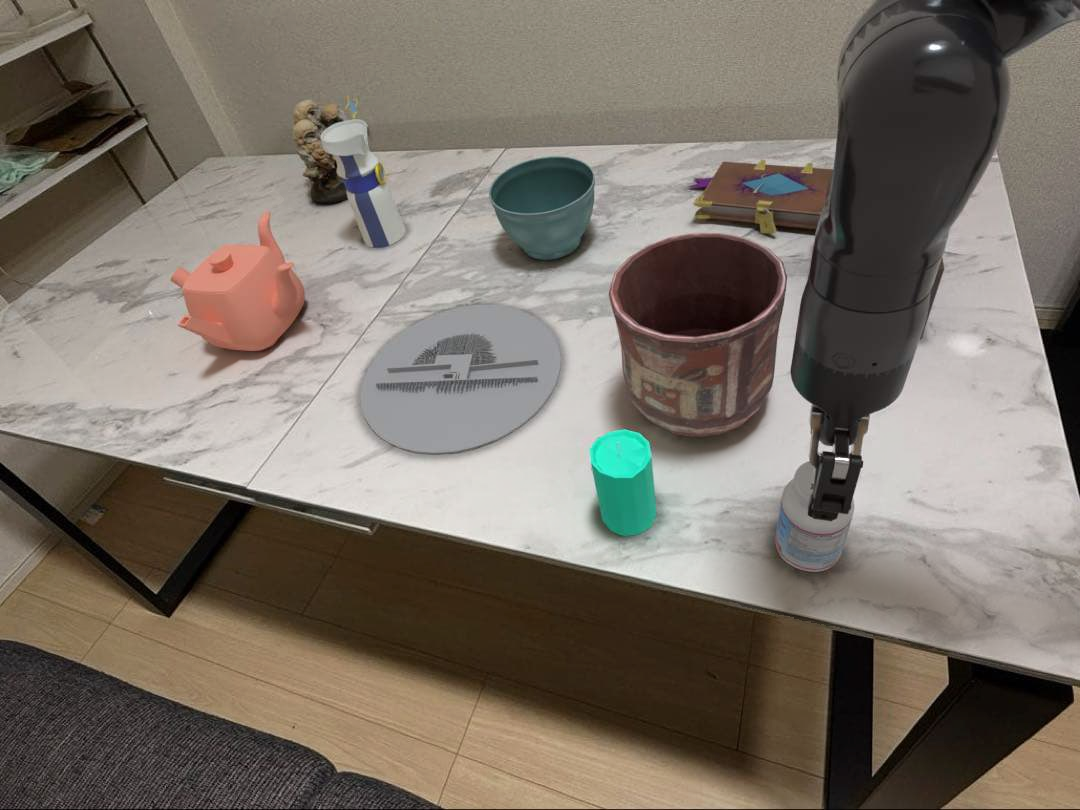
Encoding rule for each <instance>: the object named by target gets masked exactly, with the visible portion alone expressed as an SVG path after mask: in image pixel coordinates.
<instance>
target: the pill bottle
mask: <svg viewBox="0 0 1080 810" xmlns="http://www.w3.org/2000/svg"><path fill="white" fill-rule="evenodd" d="M813 473H814V467H813V466H812V465H811V464H810V462H809V460H808V461H806V462H804V463H802V464H800V466H798V468H797V469H796V470H795V473H794V475H793V478H792V479H790V481H788V483H787V484H786V485H785V486H784V489H783V491H782V495H781V498H780V499H781V500H780V506H779V513H778V518H777V524H776V531H775V537H774V538H775V541H774V542H775V547H776V550H777V552H778V554H779V556H780V558H781V559H782V560H783V561H785V563H787V564H788V565H790V566H791V567H794V568H795V569H798V570H801V571H805V572H812V573H817V572H819V573H820V572H824V571H827V570H829V569H831V568H832V567H833V566H835V565H836V564H837V562H839V560H840V558H841V556H842V554H843V549H844V546H845V543H846V540H847V538H848V533H849V529H850V526H851V523H852V520H853V516H854V513H855V500H854V498H853V499H852V502H851V510H849V513H848V514H841V513H838V517H837V519H835V520H833V521H824V520H817V519H813V518H812V517H810V516H808V504H809V500H810V495H811V491H812V490H810V484H811V483H812V481H813Z"/></svg>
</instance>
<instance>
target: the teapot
mask: <svg viewBox="0 0 1080 810" xmlns="http://www.w3.org/2000/svg"><path fill="white" fill-rule="evenodd" d="M270 220H271V211H270V210H267V211H265V212H263V214H262V215H261V216H260V217H259V219H258V223H257V233H258V234H257V235H258V239H259V245H258V244H247V243H246V244H244V243H243V244H241V243H239V244H238V243H233V244H232V243H231V244H224V245H223V246H221V247H219V248H217V249H216V250H214V251H213V252H212V253H210V255H209V256H207V257H206V258H205V259H204V260H203V261H201V263H199V264H198V266H196V268H195V269H194V270H193V271H192V272H190V271H188V270H186V269H185V268H183V267H182V266H181V267H178V269H176V270H175V272H173V274H172V275H171V277H170V282H172V283H173V284H175V285H177V286H178V287H179V288H181V289H182V295H183V299H184V303H185V307H186V309H187V312H188V315H187V314H184V315H183V316H182V318H181V319H180V321H179V322H178V323H177V326H178V327H180V328H182V329H184V330H185V331H188V332H191V333H192V334H194V335H197V336H200V337H201V339H203V340H204V341H205V342H207V343H209V344H211V345H213V346H214V347H217V348H221V349H226V350H234V351H247V352H259V351H263V350H266V349H269V348H271V347H273V346H275V344H276V343H277V342H278V339H279V338H280V337H281V336H282V335H283V334H284V333H286V331H287V330H288V329H289V328H290V326H292V324H293V323H294V322H295V320H296V319H297V317H298V315H299V314H300V312H301V310H302V308H303V307H304V304H305V298H306V292H305V287H304V285H303V283H302V281H301V279H300V278H299V276H298V275H297V273H296V272H295V271H294V270H293V267H294V266H295V262H286V260H285V256H284V254H283V252H282V250H281V248H280V246H279V244H278V242H277V241H276V240H275V237H274V235H273V232H272V230H271V224H270V223H271V221H270Z"/></svg>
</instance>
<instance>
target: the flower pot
mask: <svg viewBox="0 0 1080 810" xmlns="http://www.w3.org/2000/svg"><path fill="white" fill-rule="evenodd" d="M595 186H596V177H595V172H594V169H593V168H592V167H591V166H590V165H589V164H588V163H587V162H585V161H583V160H581V159H578V158H574V157H569V156H563V155H558V156H557V155H551V156H542V157H537V158H532V159H528V160H525V161H522V162H518V163H517V164H514V165H513V166H511V167H509V168H506V169H505V170H504V171H503V172H501V173H500V174H499V175H498V176H497V177H495V179H494V180H493V181H492V183H491V185H490V186H489V189H488V197H489V201H490V204H491V206H492V207H493V209H494V213H495V215H496V217H497V220H498V222H499V224H500V226H501V228H502V229H503V231H504V232H505V233H506V234H507V236H508V237H509V238H510V239H511V240H512V241H513V242H514V243H515V244H517V246H520V247H521V248H522V249H523V251H524V253H525V254H526V255H527V256H529V257H530V258H533V259H536V260H542V261H549V260H556V259H560V258H564V257H565V256H568V255H570V254H572V253H573V252H575V250H576V249H577V248H578V247H579V246H580V244H581V242H582V241H581V240H582V236H583V234H584V233H585V231H586V230H587V228H588V227H589V224H590V221H591V218H592V216H593V215H592V214H593V210H594V205H595Z"/></svg>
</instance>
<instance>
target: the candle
mask: <svg viewBox="0 0 1080 810" xmlns="http://www.w3.org/2000/svg"><path fill="white" fill-rule="evenodd" d="M589 457H590V458H589V459H590V465H591V466H590V467H591V470H592V475H593V480H594V485H595V491H596V495H597V500H598V506H599V510H600V515H601V521H602V523H604V525H605V526H606V527H607V528H608V529H609V531H610V532H612V533H615V534H618V535H620V536H623V537H628V536H637V535H640V534H642V533H643V532H645V531H647V530H648V529H650V528H651V527H652V526H653V524H654V521H655V519H656V518H657V515H658V514H657V502H656V491H655V479H654V469H653V458H652V451H651V445H650V441H649V440H648V439H646V438H645V437H644V436H643V435H642V434H641V433H640V432H636V431H633V430H629V429H624V428H623V429H619V430H614V431H609V432H607V433H605V434H603V435H602V436H598V437H597V438H595V440H594V441H593V443H592V444H591V446H590V448H589Z"/></svg>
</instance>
